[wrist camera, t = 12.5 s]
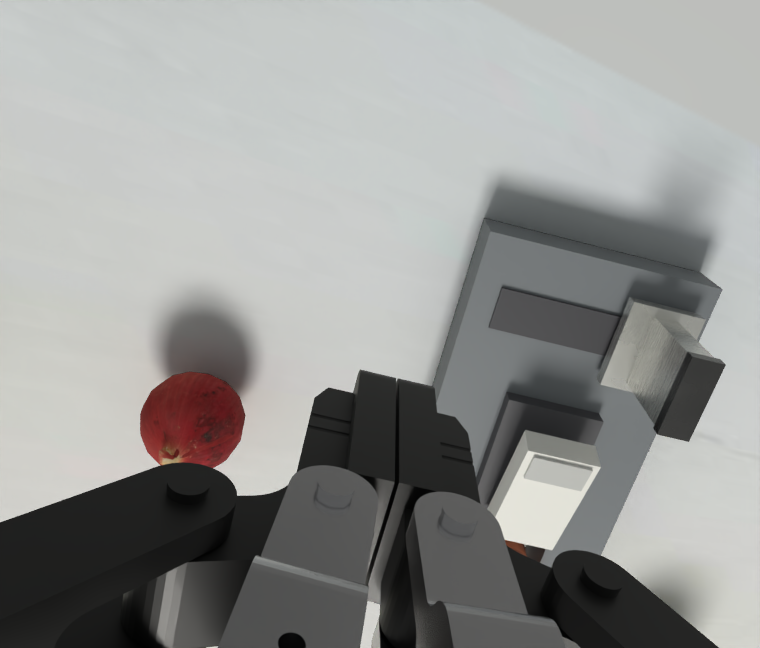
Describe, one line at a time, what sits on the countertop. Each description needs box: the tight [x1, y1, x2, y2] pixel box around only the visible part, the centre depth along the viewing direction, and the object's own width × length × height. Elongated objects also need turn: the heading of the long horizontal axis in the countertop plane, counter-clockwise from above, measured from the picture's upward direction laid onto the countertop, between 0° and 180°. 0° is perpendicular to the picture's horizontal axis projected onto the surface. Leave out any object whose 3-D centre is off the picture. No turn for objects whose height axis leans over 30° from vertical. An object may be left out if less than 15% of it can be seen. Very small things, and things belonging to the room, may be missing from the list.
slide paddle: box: [597, 297, 725, 442], centre depth 35 cm, size 4×5×6 cm
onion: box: [140, 372, 245, 468], centre depth 40 cm, size 6×6×8 cm
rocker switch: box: [487, 430, 601, 550], centre depth 39 cm, size 4×7×2 cm, turn 166°
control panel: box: [374, 218, 722, 604], centre depth 43 cm, size 13×26×4 cm, turn 166°
